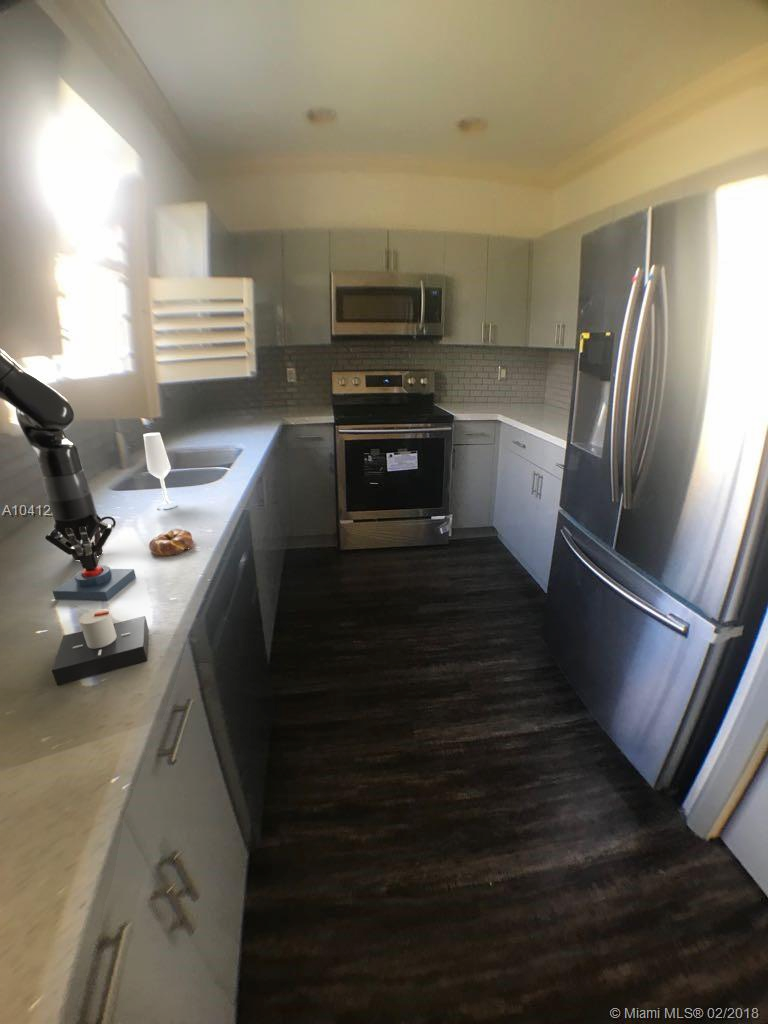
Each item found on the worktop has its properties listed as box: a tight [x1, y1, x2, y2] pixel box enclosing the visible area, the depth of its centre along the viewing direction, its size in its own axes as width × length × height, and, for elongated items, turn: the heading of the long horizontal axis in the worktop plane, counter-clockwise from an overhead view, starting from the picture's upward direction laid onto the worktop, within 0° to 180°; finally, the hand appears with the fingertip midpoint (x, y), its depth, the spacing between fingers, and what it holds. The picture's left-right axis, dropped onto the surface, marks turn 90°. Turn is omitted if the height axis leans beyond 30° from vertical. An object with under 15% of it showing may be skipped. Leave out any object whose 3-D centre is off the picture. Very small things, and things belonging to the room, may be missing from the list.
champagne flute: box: [142, 432, 172, 505], centre depth 146 cm, size 7×7×24 cm
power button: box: [82, 564, 102, 577], centre depth 100 cm, size 4×4×2 cm
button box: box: [52, 564, 137, 602], centre depth 101 cm, size 12×10×4 cm
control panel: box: [51, 615, 150, 686], centre depth 79 cm, size 13×10×3 cm
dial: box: [78, 608, 117, 649], centre depth 77 cm, size 4×4×5 cm
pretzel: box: [148, 528, 195, 556], centre depth 119 cm, size 12×11×4 cm
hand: (91, 568), depth 100 cm, fingers closed
